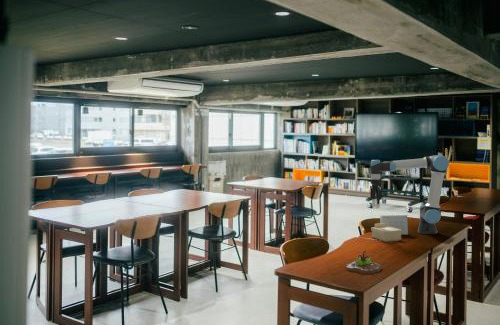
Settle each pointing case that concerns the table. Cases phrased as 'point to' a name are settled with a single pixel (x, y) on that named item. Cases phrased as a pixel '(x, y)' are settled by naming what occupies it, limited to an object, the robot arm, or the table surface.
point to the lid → (384, 228)
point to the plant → (364, 265)
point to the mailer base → (387, 236)
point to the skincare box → (396, 222)
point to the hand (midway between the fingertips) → (375, 207)
